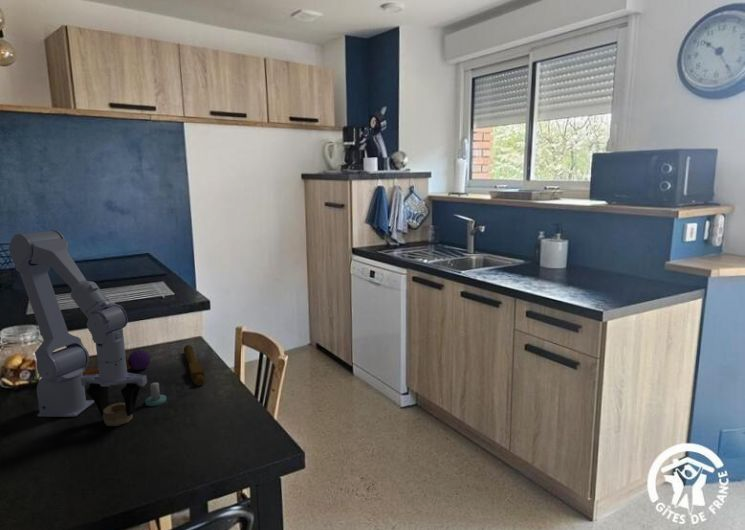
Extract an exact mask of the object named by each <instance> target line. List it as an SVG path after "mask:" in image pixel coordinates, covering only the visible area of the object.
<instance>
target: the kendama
mask: <svg viewBox="0 0 745 530" xmlns="http://www.w3.org/2000/svg"><path fill="white" fill-rule="evenodd" d="M150 363H151V355H150V354H149V353H148V351H146V350H144V349H137V350H134V351H133V352H131V353H130V355H129V356H128V357H127V356H126V366H127V371H130V368H131V369H132V370H135V371H142V370H144V369H146V368H148V366H149V365H150ZM94 374H99V368H98V367H97V368H92V369H87V370H86V369H85V371H84V372H83V377H84V376H85V375H94Z"/></svg>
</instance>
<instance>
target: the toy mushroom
mask: <svg viewBox="0 0 745 530" xmlns="http://www.w3.org/2000/svg"><path fill="white" fill-rule="evenodd" d="M149 387H150V396H148V397H146V398H145V399H144V403H145V406H147V407H159V406H160V405H164V404H165V403H166V402H167V400H168V399H167V398H168V397H167V395H165V394H160V393H161V392H160V383H159V382H153V383H150V384H149Z"/></svg>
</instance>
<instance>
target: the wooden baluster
mask: <svg viewBox="0 0 745 530" xmlns="http://www.w3.org/2000/svg"><path fill="white" fill-rule="evenodd" d="M183 353H184V355H185V359H186V360H187V363H188V369H189V375H190V377H191V382H192V383H193V384H194V385H195V386H198V387H200V386H203V384H205V381H206V379H205V372H204V371H205V370H204V368H203V366H202V363H201V361H197V357H196V353H195V349H194V347H193V346H192V345H190V344H188V345H185V346H184V347H183Z"/></svg>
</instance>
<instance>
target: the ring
mask: <svg viewBox="0 0 745 530" xmlns="http://www.w3.org/2000/svg"><path fill="white" fill-rule="evenodd" d="M102 416H103V422H104V424H105V425H106V427H118V426H121V425H124V424H127V423H129V422H130V421H131V420H132V419H133V417H134V416H133V414H131V415H130V416H127V413H126V406H125V402H116V403H113V404H109V406H107V407H106V408H105V409H104V410H103V415H102Z"/></svg>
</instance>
